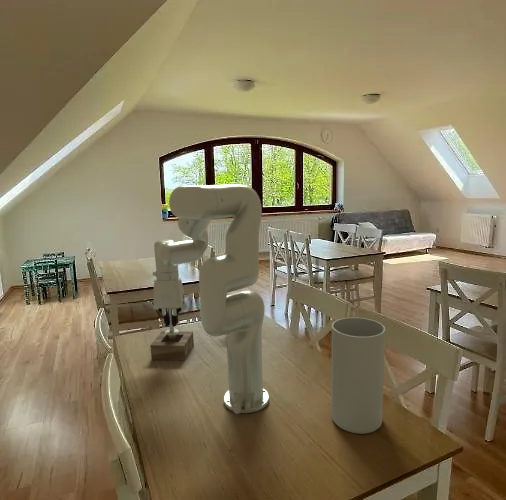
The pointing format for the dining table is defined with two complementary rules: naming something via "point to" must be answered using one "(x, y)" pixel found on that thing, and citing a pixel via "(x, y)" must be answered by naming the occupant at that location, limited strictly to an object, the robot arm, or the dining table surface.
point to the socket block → (172, 346)
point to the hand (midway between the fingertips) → (171, 324)
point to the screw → (171, 326)
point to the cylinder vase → (357, 374)
